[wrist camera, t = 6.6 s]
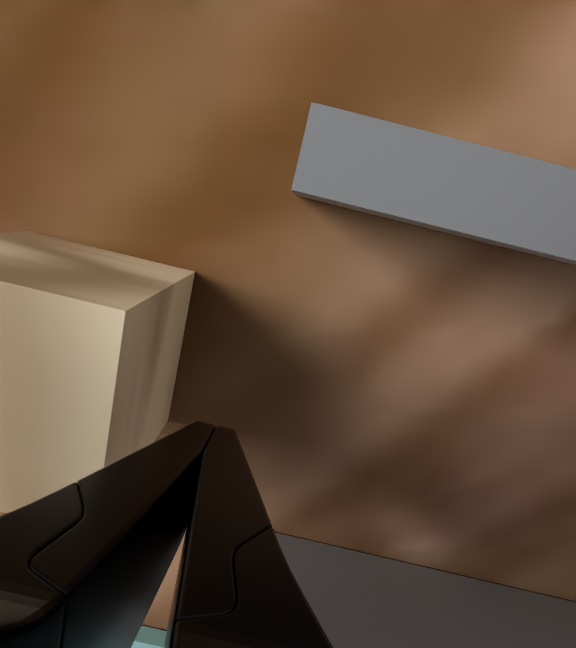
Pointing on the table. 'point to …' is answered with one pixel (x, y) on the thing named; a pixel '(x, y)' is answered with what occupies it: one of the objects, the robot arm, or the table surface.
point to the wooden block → (81, 359)
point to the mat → (149, 638)
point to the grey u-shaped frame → (469, 222)
